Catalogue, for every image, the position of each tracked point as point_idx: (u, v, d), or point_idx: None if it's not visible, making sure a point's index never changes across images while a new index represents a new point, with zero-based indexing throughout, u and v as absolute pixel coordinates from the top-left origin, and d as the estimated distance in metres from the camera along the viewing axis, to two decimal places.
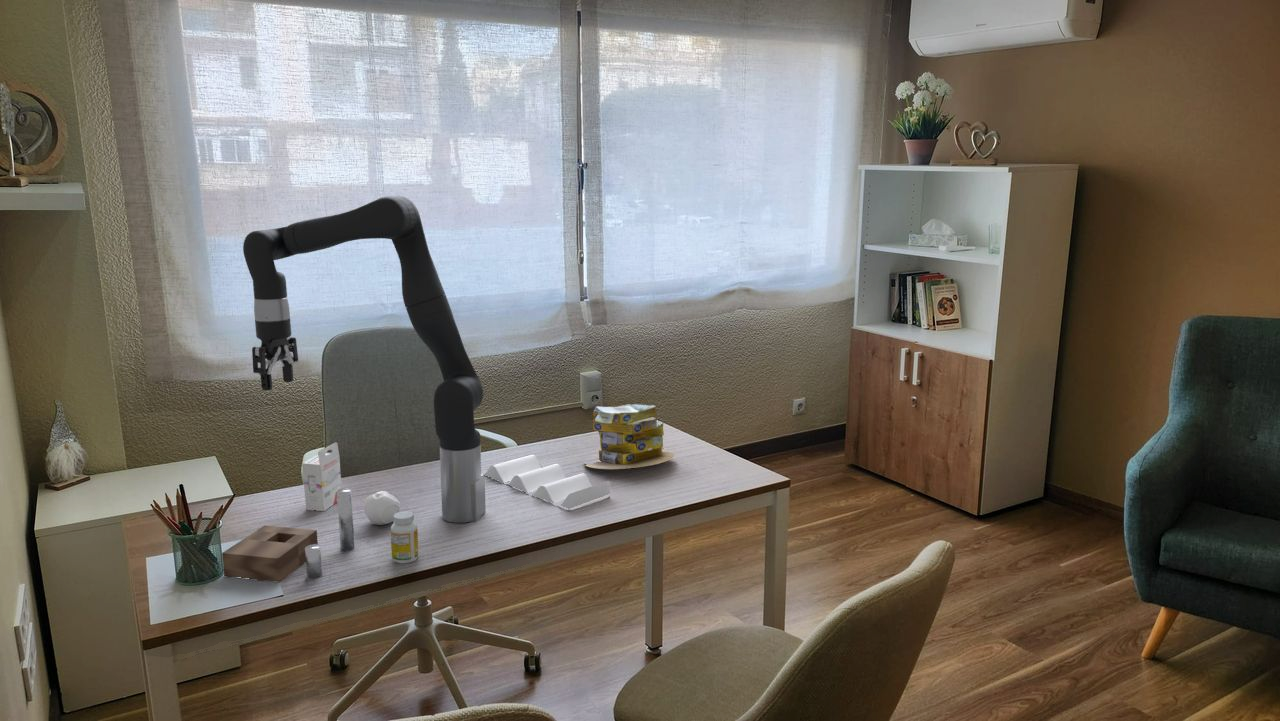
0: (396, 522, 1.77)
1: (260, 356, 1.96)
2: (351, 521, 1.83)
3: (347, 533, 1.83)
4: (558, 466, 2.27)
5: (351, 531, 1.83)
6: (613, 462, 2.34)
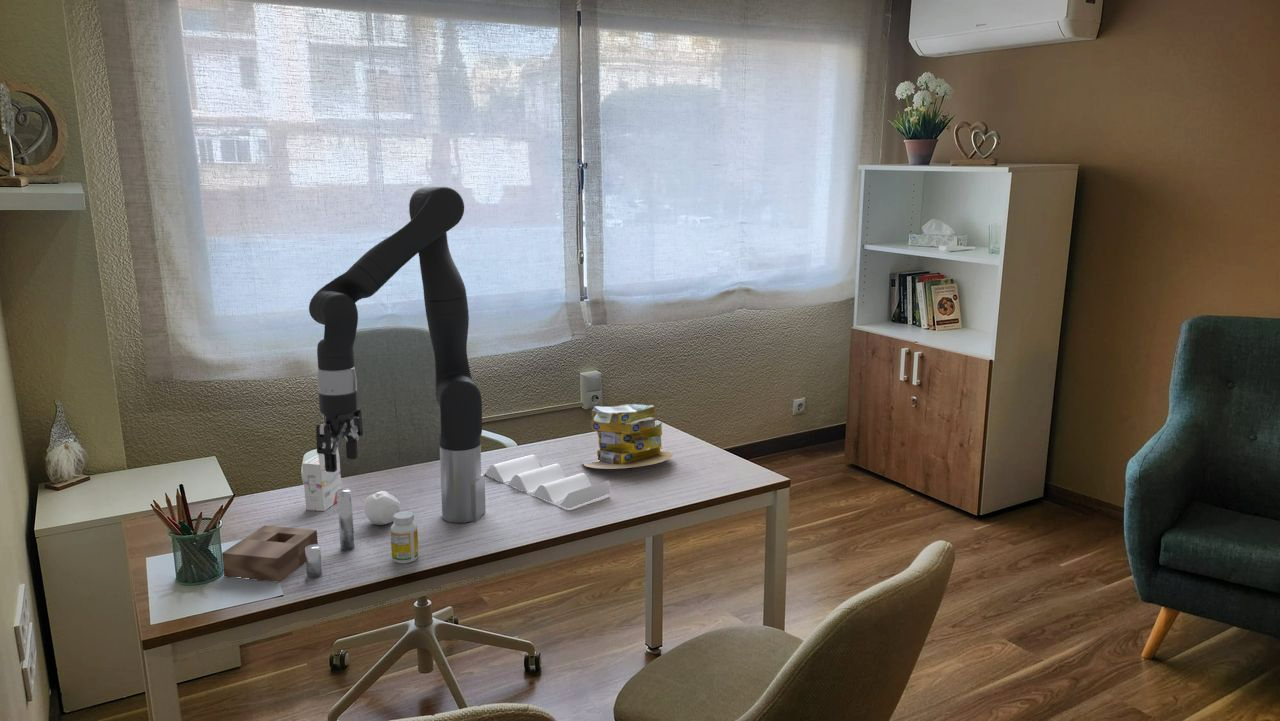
0: (396, 522, 1.77)
1: (325, 435, 1.72)
2: (351, 521, 1.83)
3: (347, 533, 1.83)
4: (558, 466, 2.28)
5: (351, 531, 1.83)
6: (611, 462, 2.34)
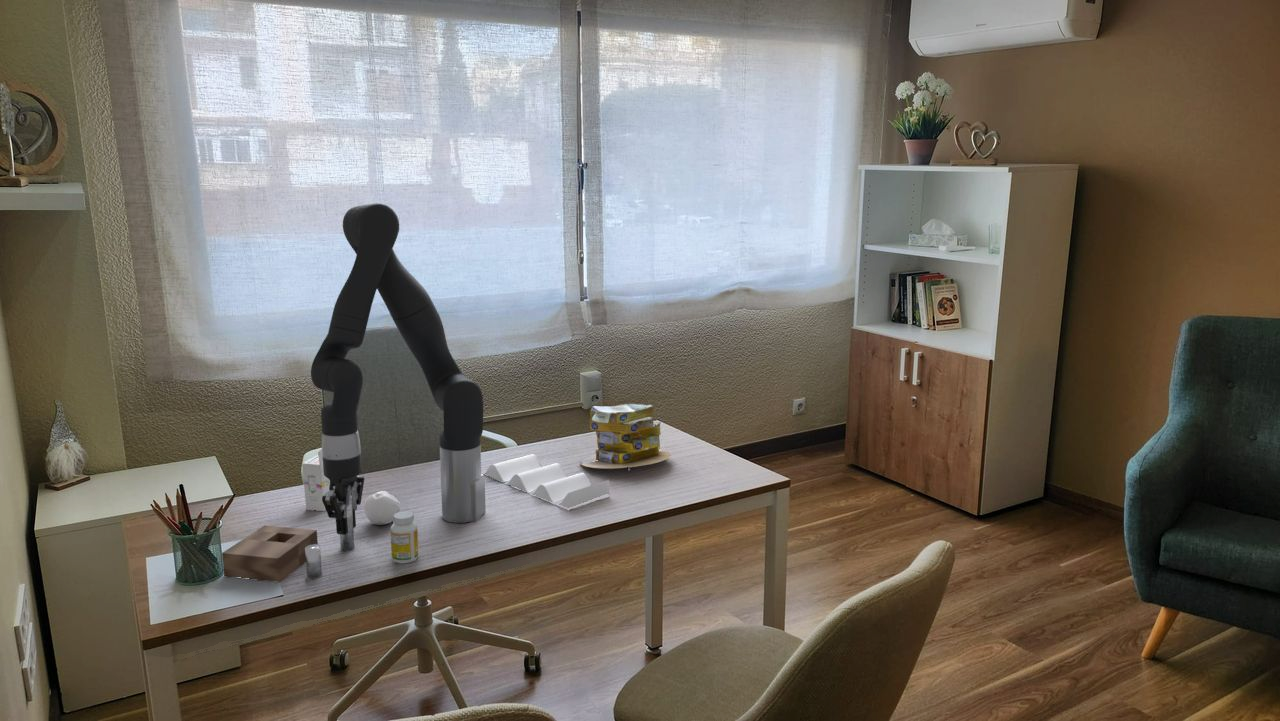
0: (396, 522, 1.77)
1: (333, 506, 1.76)
2: (351, 521, 1.83)
3: (347, 533, 1.83)
4: (558, 465, 2.28)
5: (351, 531, 1.83)
6: (610, 461, 2.34)
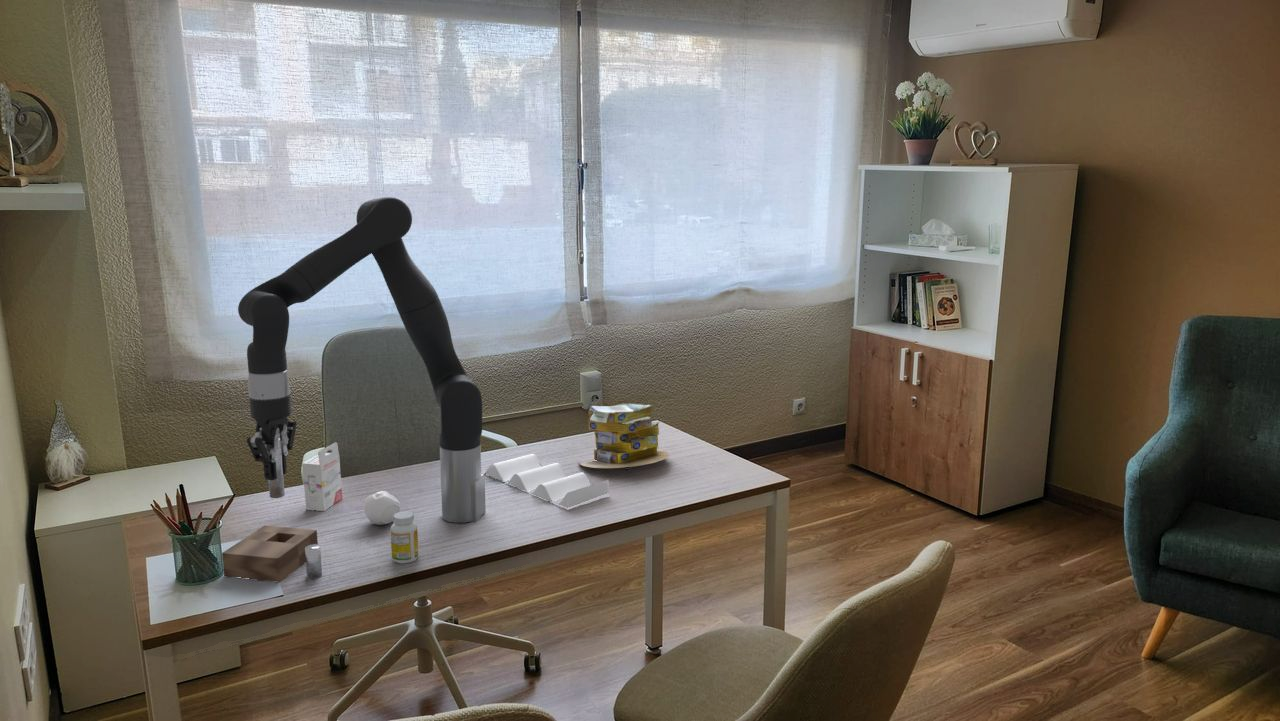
0: (396, 522, 1.77)
1: (259, 448, 1.68)
2: (280, 466, 1.74)
3: (276, 479, 1.74)
4: (558, 465, 2.28)
5: (280, 477, 1.74)
6: (608, 461, 2.35)
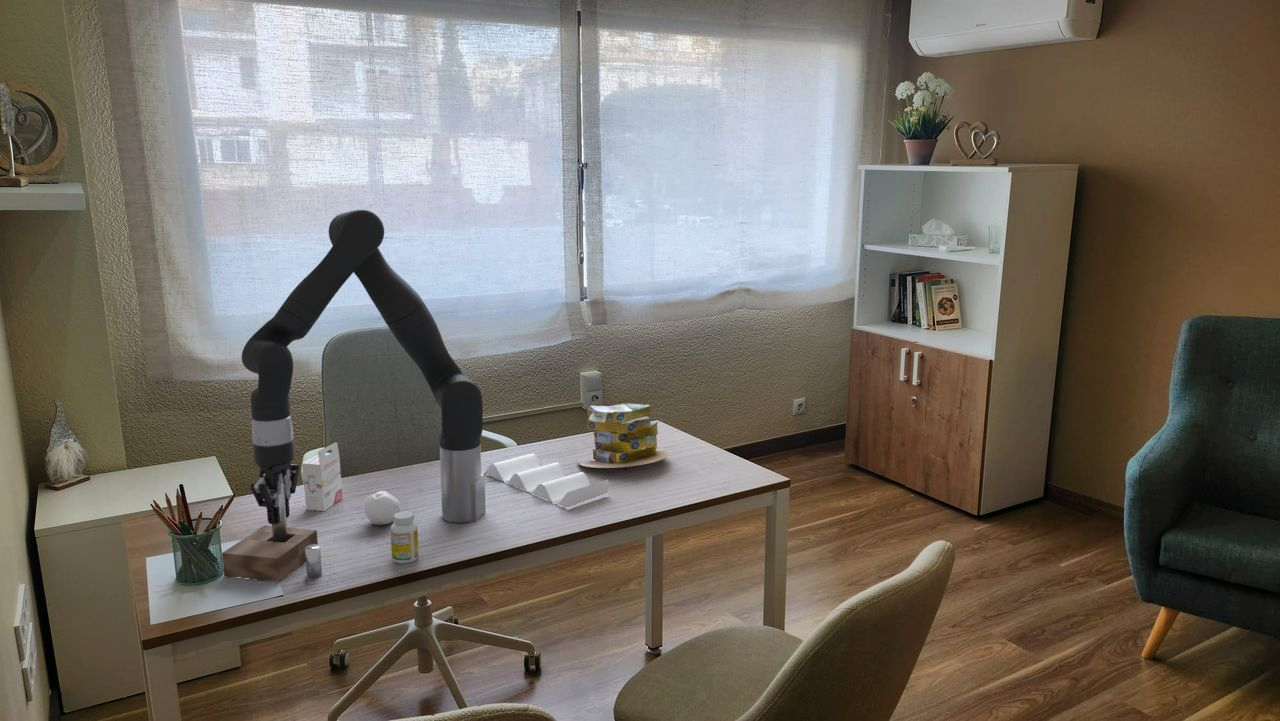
0: (396, 522, 1.77)
1: (262, 494, 1.70)
2: (283, 510, 1.76)
3: (279, 523, 1.76)
4: (557, 465, 2.28)
5: (283, 521, 1.76)
6: (607, 461, 2.35)
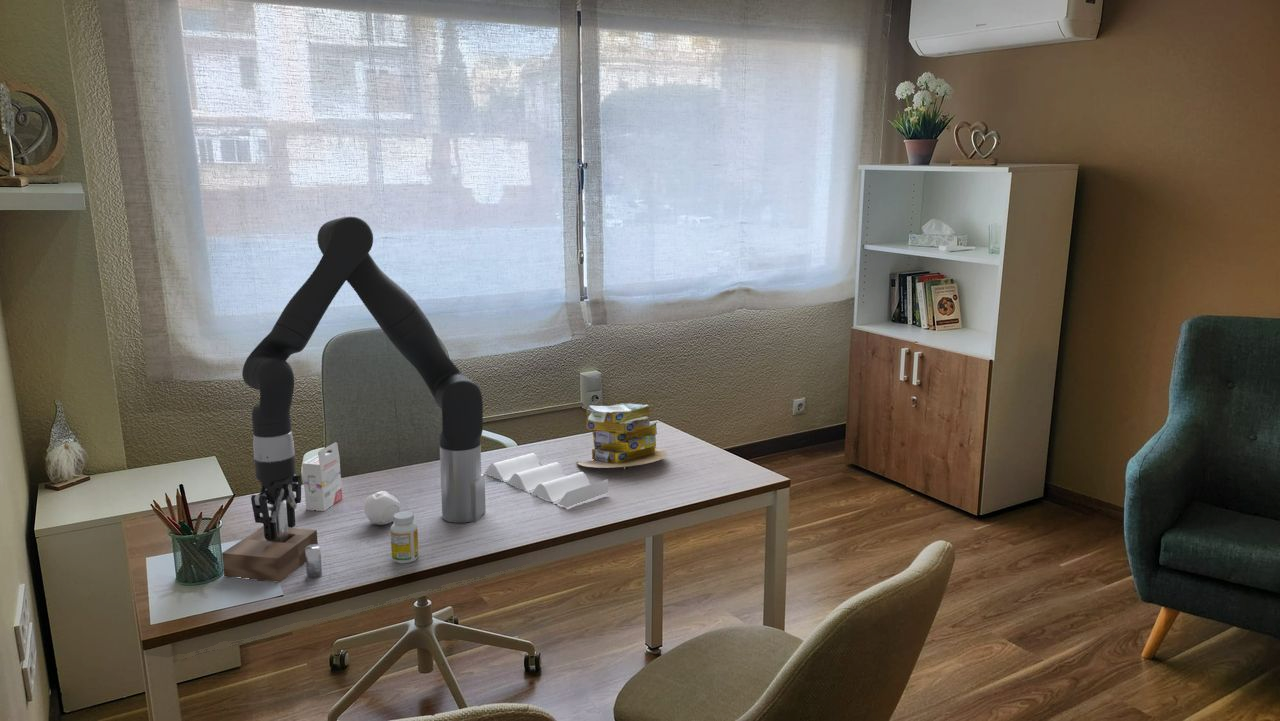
0: (396, 522, 1.77)
1: (261, 506, 1.69)
2: (286, 532, 1.77)
3: None
4: (557, 465, 2.28)
5: None
6: (606, 461, 2.35)
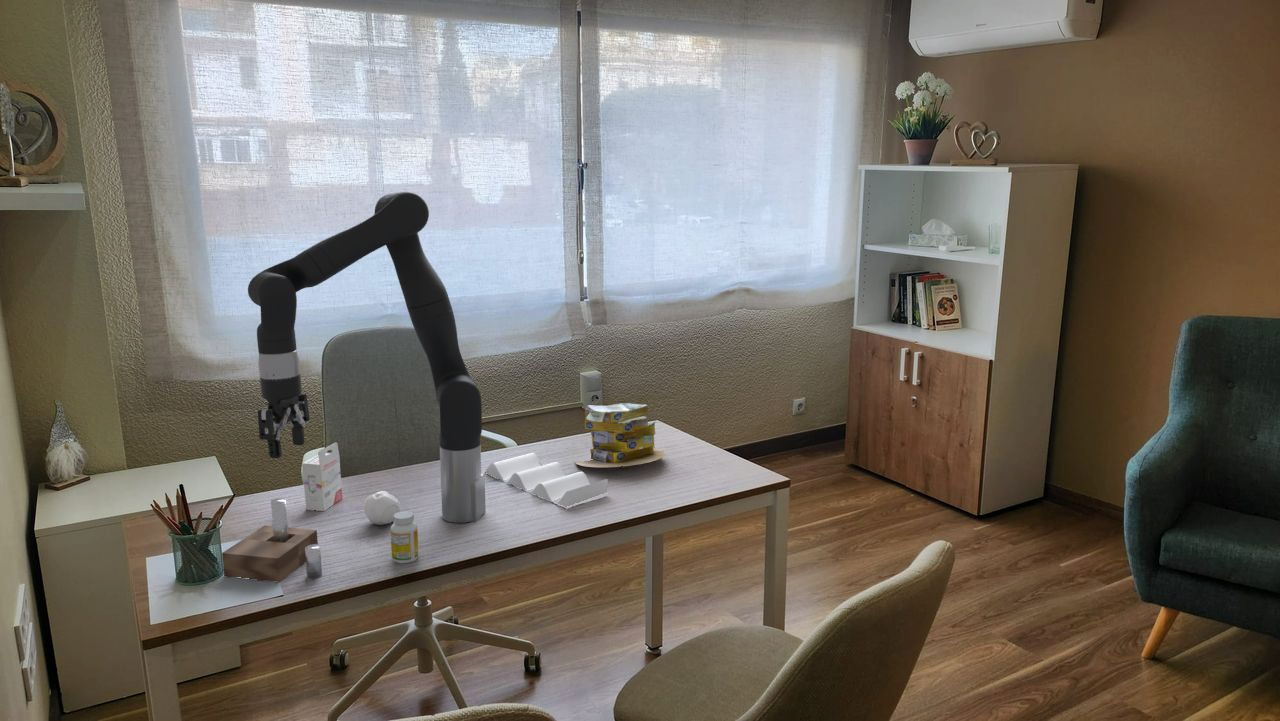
0: (396, 522, 1.77)
1: (267, 420, 1.68)
2: (286, 532, 1.77)
3: None
4: (557, 464, 2.29)
5: None
6: (604, 460, 2.35)
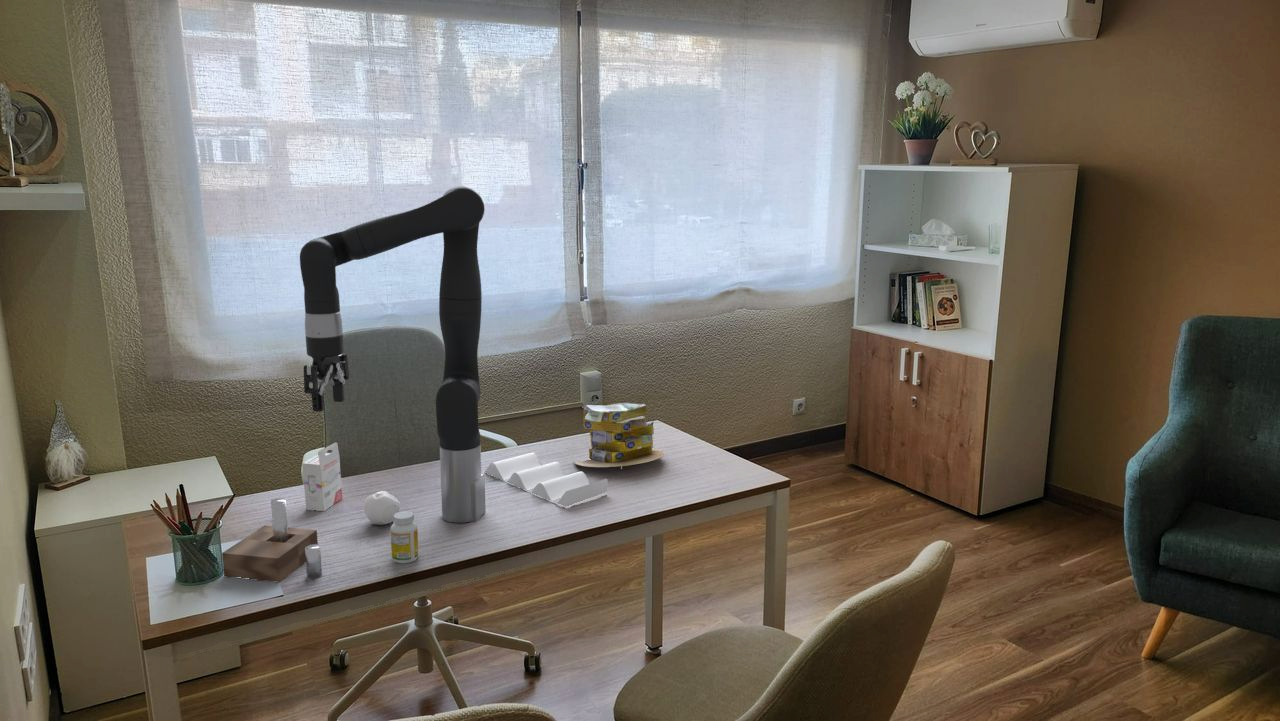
0: (396, 522, 1.77)
1: (312, 375, 1.81)
2: (286, 532, 1.77)
3: None
4: (557, 464, 2.29)
5: None
6: (602, 460, 2.35)
